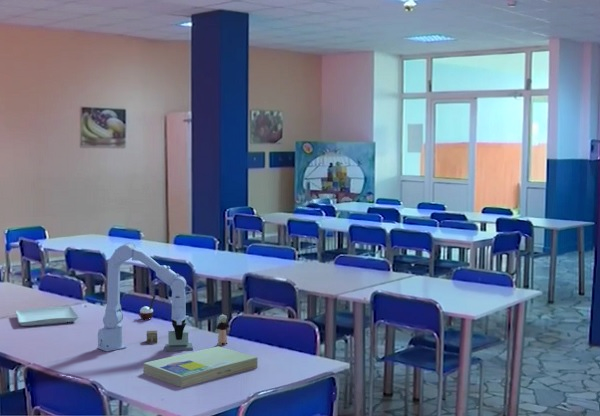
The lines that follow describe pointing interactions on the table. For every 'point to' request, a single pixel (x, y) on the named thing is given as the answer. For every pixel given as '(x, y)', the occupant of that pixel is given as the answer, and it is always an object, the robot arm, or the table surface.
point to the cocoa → (147, 311)
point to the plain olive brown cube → (151, 336)
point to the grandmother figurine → (222, 330)
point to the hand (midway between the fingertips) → (178, 338)
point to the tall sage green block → (173, 340)
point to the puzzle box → (199, 366)
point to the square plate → (46, 316)
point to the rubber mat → (178, 347)
